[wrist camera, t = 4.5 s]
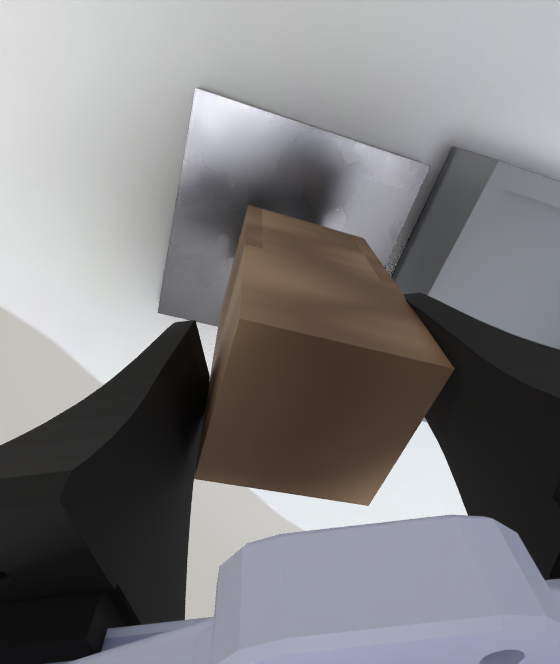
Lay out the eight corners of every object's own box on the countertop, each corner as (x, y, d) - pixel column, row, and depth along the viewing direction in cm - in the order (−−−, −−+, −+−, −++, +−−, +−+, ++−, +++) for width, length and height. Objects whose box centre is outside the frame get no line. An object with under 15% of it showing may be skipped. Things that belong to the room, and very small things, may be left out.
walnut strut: (363, 238, 15) (454, 368, 8) (323, 336, 17) (368, 505, 10) (247, 204, 14) (239, 318, 7) (220, 312, 16) (193, 479, 9)
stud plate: (422, 162, 18) (470, 185, 14) (341, 345, 23) (359, 401, 19) (198, 88, 16) (179, 88, 12) (161, 303, 21) (139, 356, 17)
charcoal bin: (665, 220, 20) (749, 248, 17) (525, 401, 26) (566, 450, 23) (452, 146, 18) (498, 160, 15) (351, 362, 24) (367, 409, 20)
